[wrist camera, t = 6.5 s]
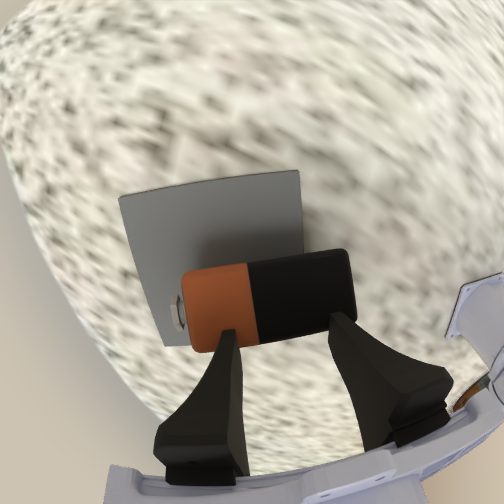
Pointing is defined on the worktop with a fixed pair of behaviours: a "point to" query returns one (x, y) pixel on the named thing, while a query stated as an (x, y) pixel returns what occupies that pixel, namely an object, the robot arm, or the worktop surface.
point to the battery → (265, 299)
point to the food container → (473, 392)
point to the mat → (209, 232)
